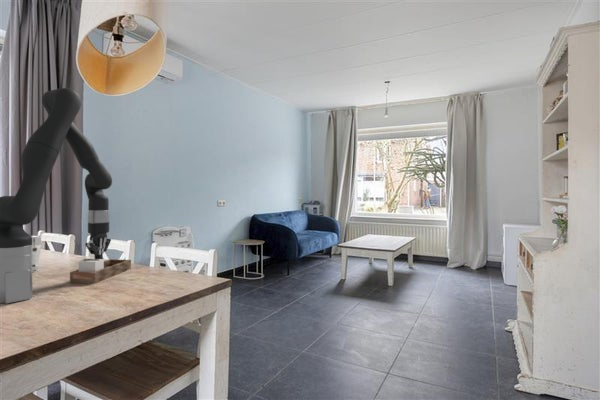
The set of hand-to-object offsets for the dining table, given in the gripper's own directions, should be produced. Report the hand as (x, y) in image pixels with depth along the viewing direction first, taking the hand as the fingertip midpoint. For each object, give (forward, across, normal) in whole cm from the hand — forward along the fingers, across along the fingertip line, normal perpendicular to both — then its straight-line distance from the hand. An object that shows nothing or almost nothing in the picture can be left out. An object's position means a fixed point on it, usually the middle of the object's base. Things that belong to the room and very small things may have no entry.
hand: (98, 263), depth 136 cm
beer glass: (+6, -5, -34) cm, 35 cm away
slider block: (+4, +5, 0) cm, 6 cm away
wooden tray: (+5, -3, 0) cm, 6 cm away
